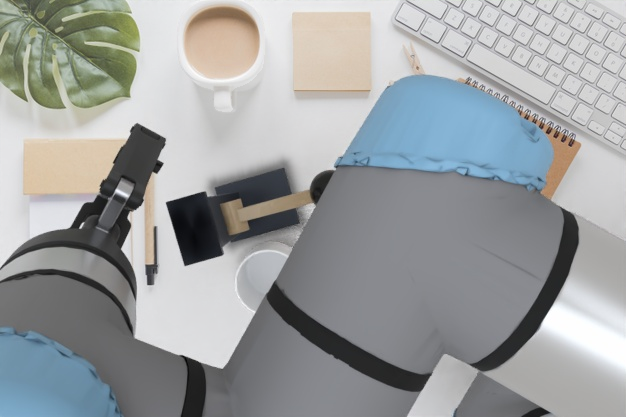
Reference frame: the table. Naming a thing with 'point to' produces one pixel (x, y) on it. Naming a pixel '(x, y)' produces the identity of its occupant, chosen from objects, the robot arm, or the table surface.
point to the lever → (272, 204)
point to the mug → (259, 272)
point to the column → (200, 226)
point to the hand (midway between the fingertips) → (96, 224)
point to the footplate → (258, 192)
